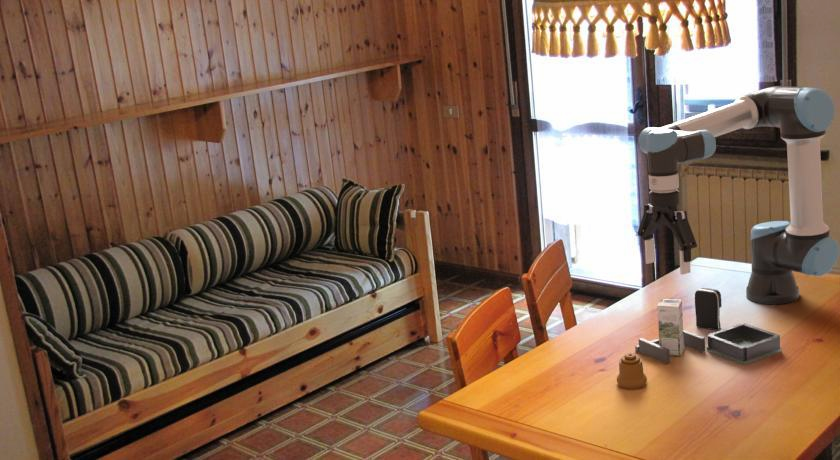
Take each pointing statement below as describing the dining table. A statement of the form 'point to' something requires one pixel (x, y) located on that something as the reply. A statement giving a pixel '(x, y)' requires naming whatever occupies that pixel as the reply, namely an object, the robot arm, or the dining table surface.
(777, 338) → the square tray
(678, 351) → the syrup box
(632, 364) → the ornamental finial
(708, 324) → the black rounded block
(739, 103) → the robot arm
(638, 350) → the grey u-shaped bracket
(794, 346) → the dining table surface
